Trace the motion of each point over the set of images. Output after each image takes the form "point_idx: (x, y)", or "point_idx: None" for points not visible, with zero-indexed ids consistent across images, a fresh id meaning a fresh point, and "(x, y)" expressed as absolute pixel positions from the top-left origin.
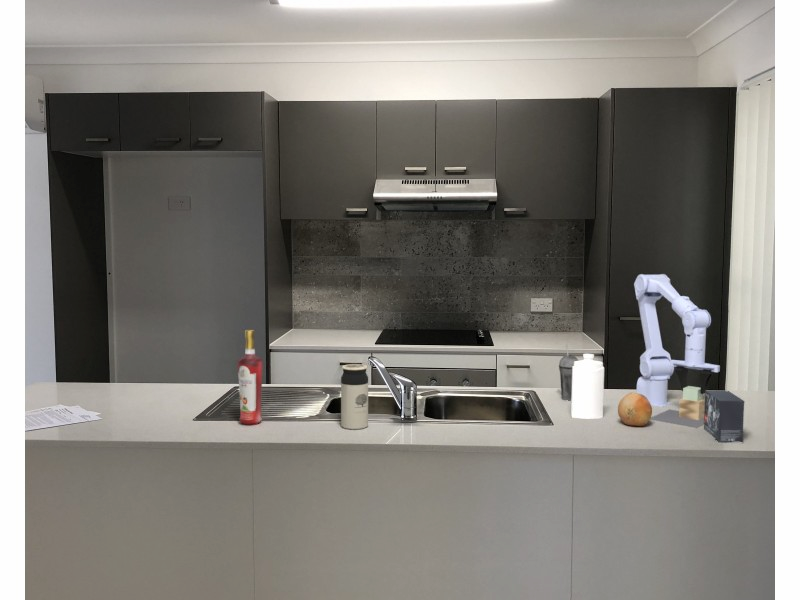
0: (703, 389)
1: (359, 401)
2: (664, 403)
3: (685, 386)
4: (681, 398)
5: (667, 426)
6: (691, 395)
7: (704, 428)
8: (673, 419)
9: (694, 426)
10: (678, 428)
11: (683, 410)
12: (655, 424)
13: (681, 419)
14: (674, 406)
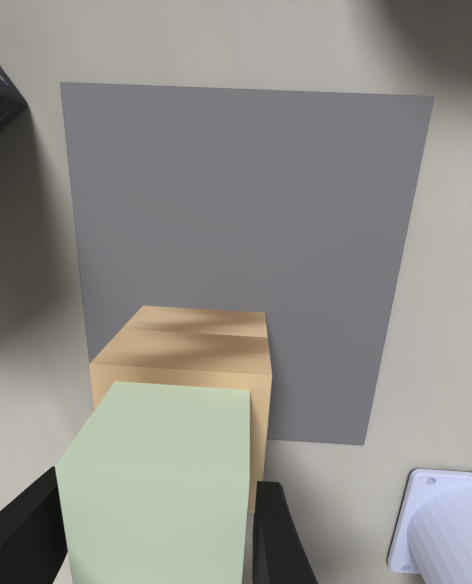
0: (3, 511)
1: None
2: (416, 521)
3: (255, 567)
4: (267, 407)
5: (251, 8)
6: (157, 416)
7: (5, 80)
8: (270, 216)
9: (89, 111)
10: (167, 7)
11: (235, 328)
12: (344, 3)
13: (228, 251)
14: (361, 530)
